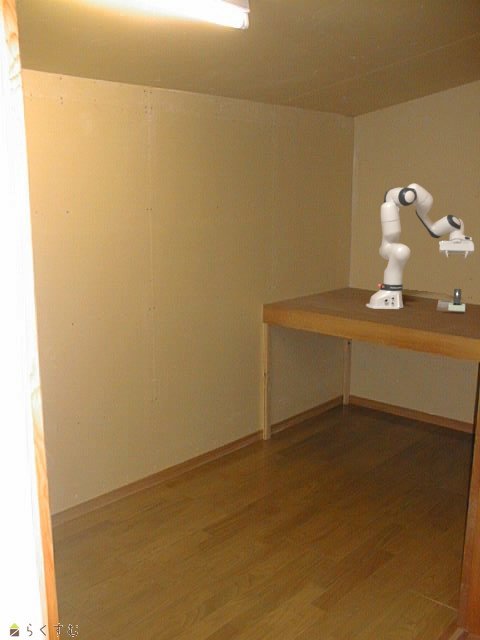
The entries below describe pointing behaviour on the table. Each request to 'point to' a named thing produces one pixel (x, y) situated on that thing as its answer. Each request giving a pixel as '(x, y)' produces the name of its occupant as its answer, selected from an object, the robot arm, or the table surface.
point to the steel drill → (457, 297)
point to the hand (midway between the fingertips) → (456, 257)
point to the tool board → (450, 310)
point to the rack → (456, 307)
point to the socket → (444, 303)
